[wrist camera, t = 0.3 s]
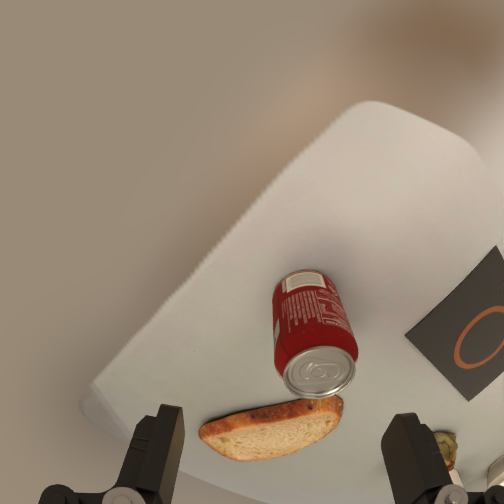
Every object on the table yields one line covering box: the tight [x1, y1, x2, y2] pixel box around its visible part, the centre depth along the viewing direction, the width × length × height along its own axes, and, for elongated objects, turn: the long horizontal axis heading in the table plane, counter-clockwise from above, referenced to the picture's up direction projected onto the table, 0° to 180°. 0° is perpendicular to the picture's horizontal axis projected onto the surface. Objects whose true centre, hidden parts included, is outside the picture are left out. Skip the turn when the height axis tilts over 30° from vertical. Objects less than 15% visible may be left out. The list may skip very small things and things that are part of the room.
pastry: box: [433, 432, 458, 471], centre depth 43 cm, size 14×12×8 cm
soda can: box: [272, 270, 358, 399], centre depth 28 cm, size 7×7×12 cm
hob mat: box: [405, 246, 504, 402], centre depth 36 cm, size 24×16×1 cm, turn 48°
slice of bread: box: [199, 395, 343, 461], centre depth 40 cm, size 18×18×4 cm
